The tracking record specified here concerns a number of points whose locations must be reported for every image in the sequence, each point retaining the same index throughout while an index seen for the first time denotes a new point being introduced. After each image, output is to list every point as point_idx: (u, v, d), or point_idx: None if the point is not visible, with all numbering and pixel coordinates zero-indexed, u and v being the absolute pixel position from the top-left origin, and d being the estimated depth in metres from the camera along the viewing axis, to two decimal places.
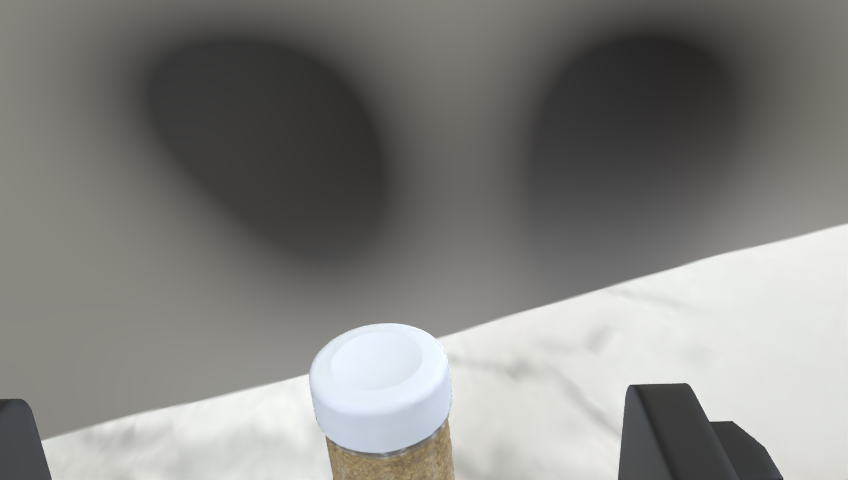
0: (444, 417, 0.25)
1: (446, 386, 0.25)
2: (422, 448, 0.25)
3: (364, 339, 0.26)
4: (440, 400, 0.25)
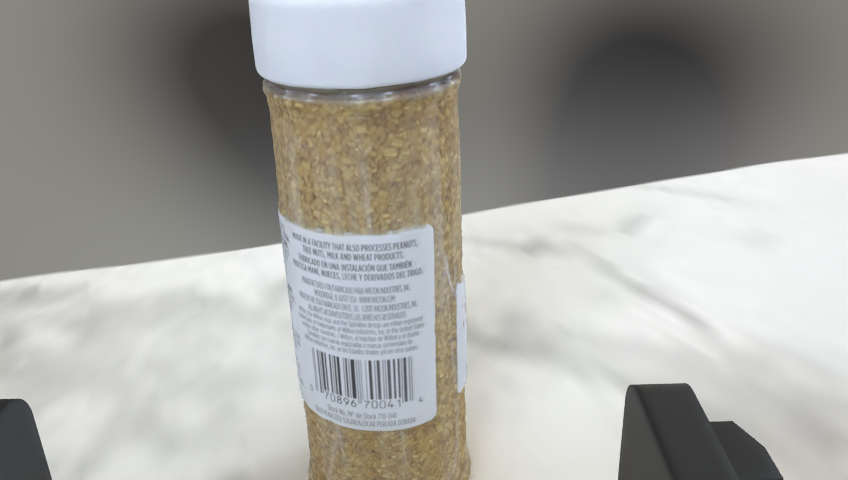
0: (455, 62, 0.16)
1: (460, 10, 0.16)
2: (418, 100, 0.16)
3: None
4: (451, 24, 0.16)
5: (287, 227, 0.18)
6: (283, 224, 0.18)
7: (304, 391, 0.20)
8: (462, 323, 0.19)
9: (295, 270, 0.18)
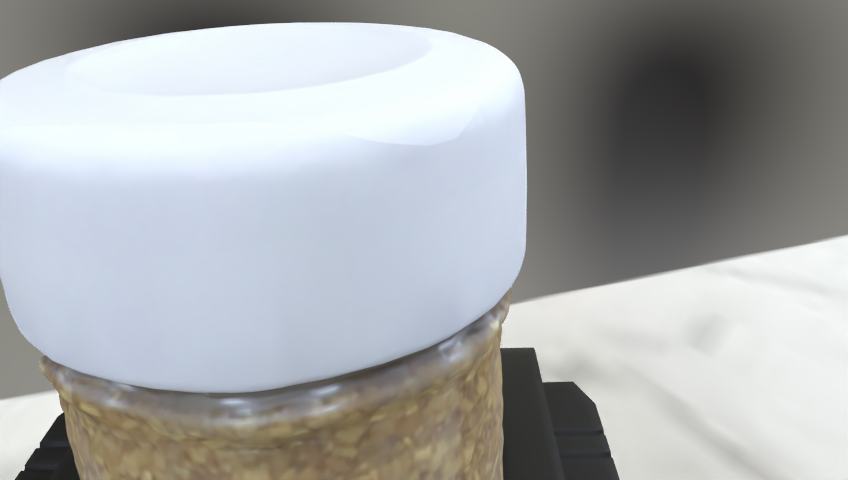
0: (503, 282, 0.06)
1: (519, 151, 0.06)
2: (409, 396, 0.06)
3: (230, 34, 0.08)
4: (497, 193, 0.06)
5: None
6: None
7: None
8: None
9: None
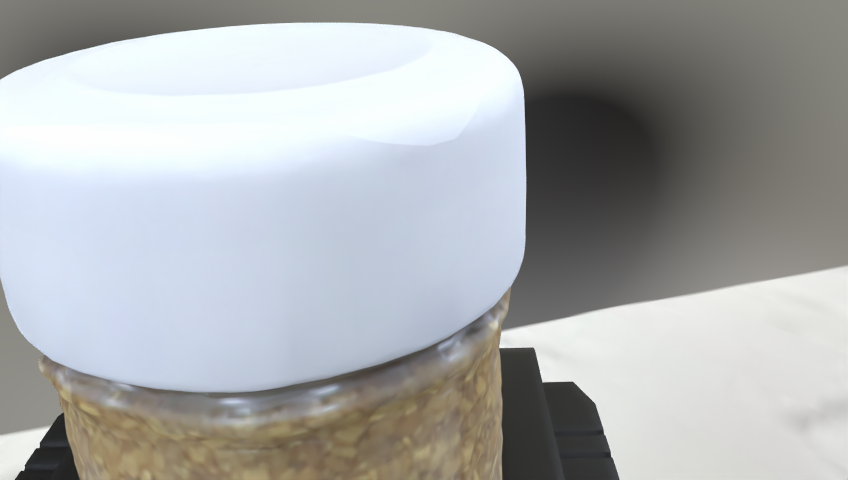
0: (502, 282, 0.06)
1: (518, 151, 0.06)
2: (408, 396, 0.06)
3: (229, 34, 0.08)
4: (496, 194, 0.06)
5: None
6: None
7: None
8: None
9: None
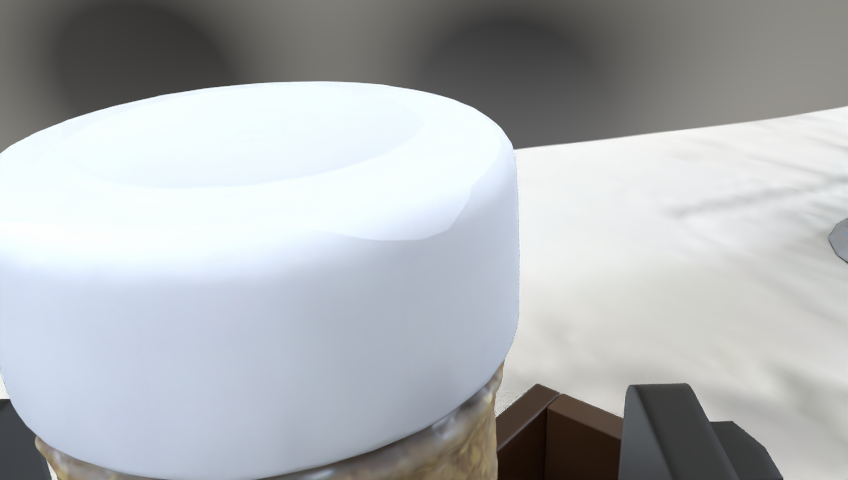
0: (496, 358, 0.06)
1: (512, 229, 0.06)
2: (402, 477, 0.06)
3: (224, 98, 0.08)
4: (490, 275, 0.06)
5: None
6: None
7: None
8: None
9: None
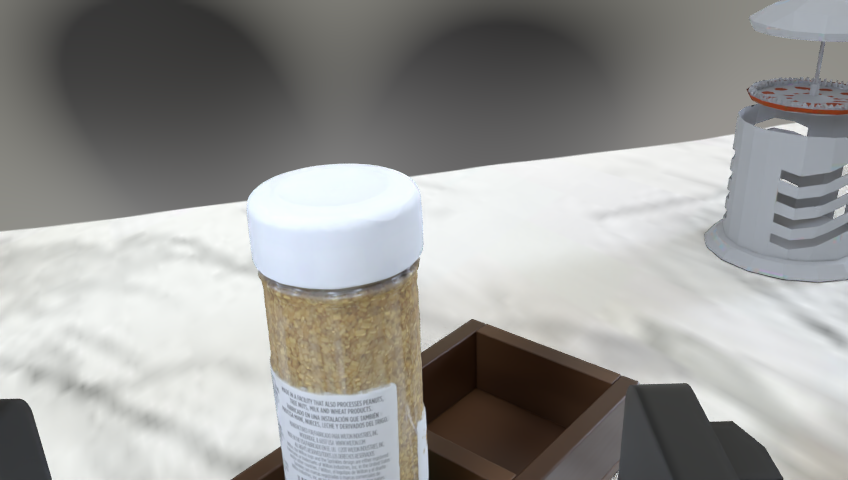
0: (412, 259, 0.20)
1: (417, 218, 0.20)
2: (382, 293, 0.20)
3: (320, 172, 0.22)
4: (409, 232, 0.20)
5: (277, 381, 0.21)
6: (274, 378, 0.22)
7: None
8: (423, 451, 0.23)
9: (284, 414, 0.22)
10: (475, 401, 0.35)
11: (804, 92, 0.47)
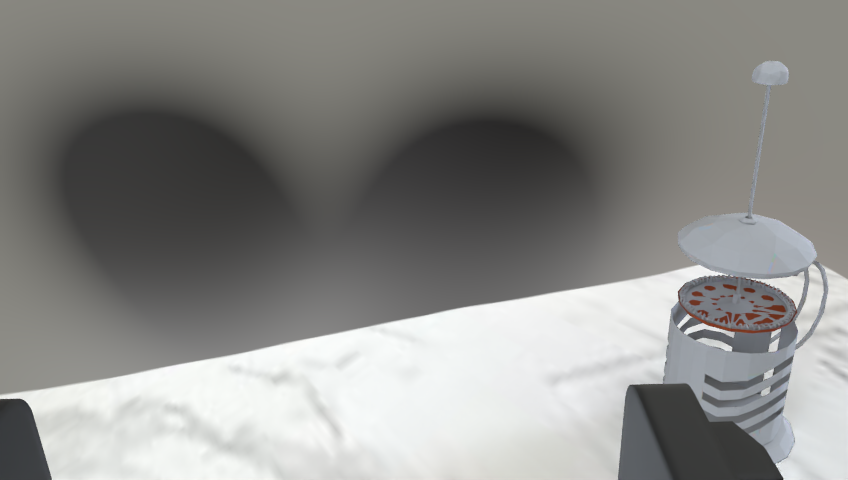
0: None
1: None
2: None
3: None
4: None
5: None
6: None
7: None
8: None
9: None
10: None
11: (729, 294, 0.52)
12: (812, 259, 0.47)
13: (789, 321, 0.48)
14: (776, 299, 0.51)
